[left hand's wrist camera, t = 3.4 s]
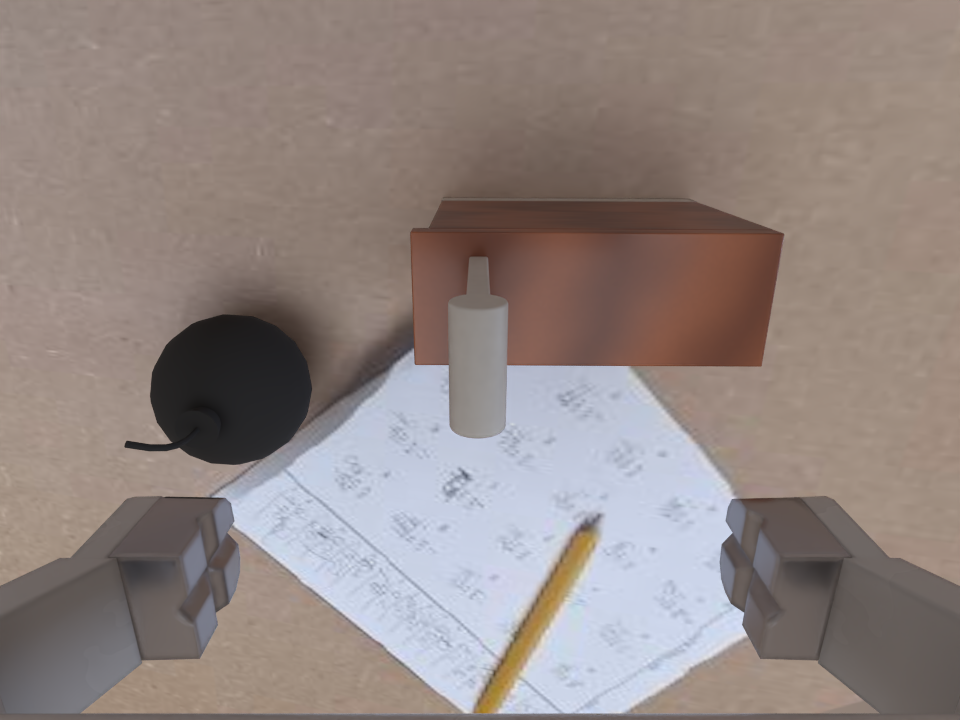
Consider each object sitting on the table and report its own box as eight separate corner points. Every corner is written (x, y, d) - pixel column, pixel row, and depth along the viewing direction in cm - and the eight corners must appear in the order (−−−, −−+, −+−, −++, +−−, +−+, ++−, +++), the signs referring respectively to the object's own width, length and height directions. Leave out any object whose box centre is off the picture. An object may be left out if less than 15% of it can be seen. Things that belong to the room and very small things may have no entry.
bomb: (350, 345, 37) (294, 444, 25) (285, 445, 39) (206, 575, 28) (229, 270, 35) (112, 339, 24) (168, 378, 37) (35, 488, 26)
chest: (444, 293, 36) (431, 357, 26) (442, 197, 34) (427, 227, 24) (678, 294, 36) (752, 359, 26) (689, 198, 34) (774, 229, 24)
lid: (416, 357, 26) (388, 462, 18) (412, 228, 24) (378, 280, 16) (752, 359, 26) (875, 464, 18) (774, 229, 24) (922, 283, 16)
